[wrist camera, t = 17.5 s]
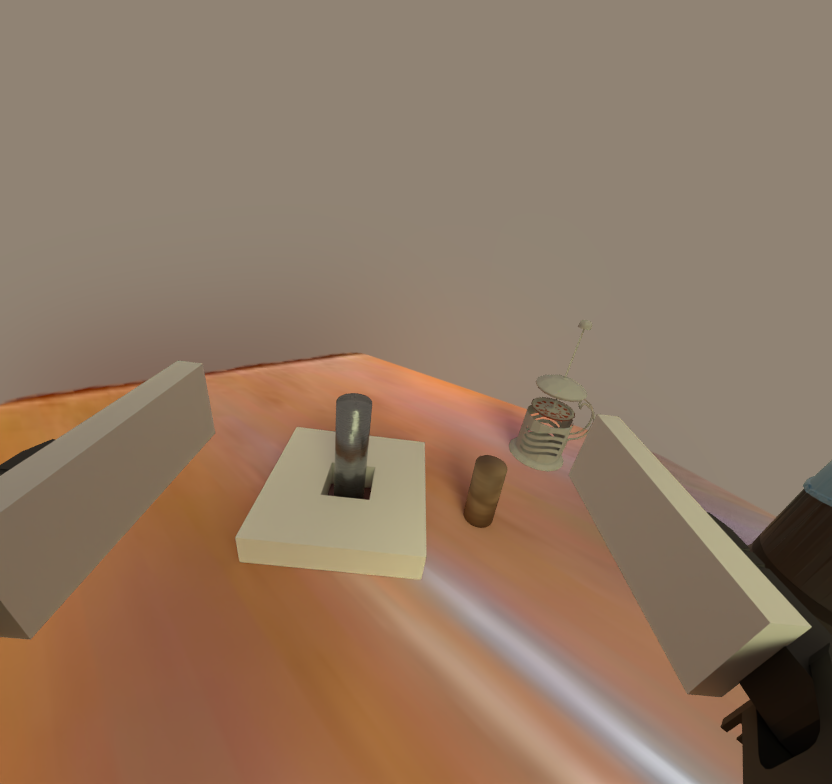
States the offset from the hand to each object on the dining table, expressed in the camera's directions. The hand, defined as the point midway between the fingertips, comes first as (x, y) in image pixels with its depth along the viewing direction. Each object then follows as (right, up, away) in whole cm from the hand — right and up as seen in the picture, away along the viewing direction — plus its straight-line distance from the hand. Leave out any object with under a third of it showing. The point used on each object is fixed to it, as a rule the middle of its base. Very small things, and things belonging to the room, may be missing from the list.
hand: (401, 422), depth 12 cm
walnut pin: (+9, -16, +36) cm, 40 cm away
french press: (+23, -10, +51) cm, 57 cm away
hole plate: (-9, -14, +35) cm, 39 cm away
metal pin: (-9, -14, +35) cm, 38 cm away
